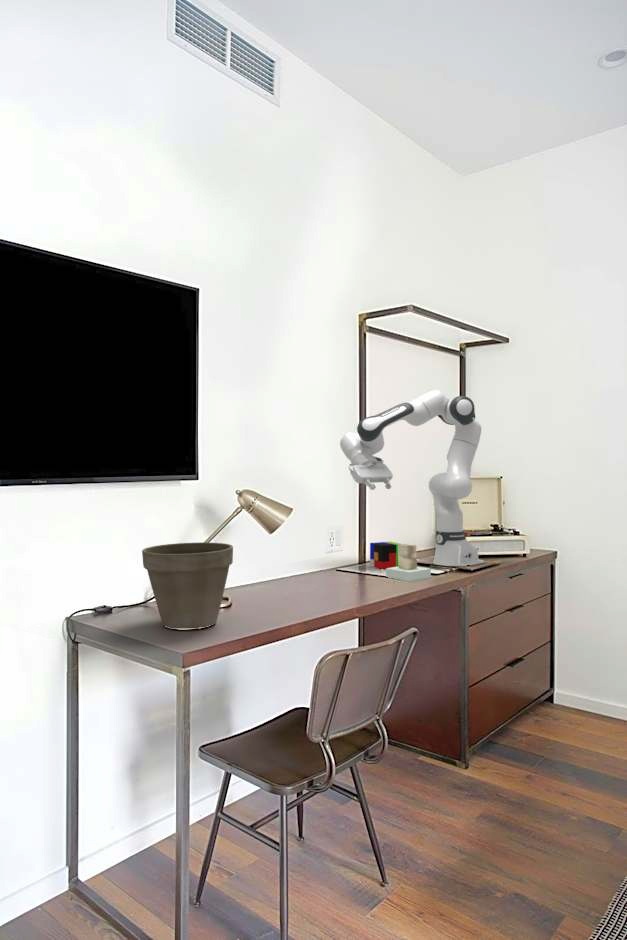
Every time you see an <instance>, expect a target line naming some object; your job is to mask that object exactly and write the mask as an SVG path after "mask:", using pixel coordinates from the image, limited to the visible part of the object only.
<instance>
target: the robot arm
mask: <svg viewBox="0 0 627 940" xmlns="http://www.w3.org/2000/svg"><path fill="white" fill-rule="evenodd" d="M435 417H438V418H440V420H441V421H442V422H443V423H444V424H447V425H450V426H455V428H454V429H455V431H454V434H453V437H452V440H451V443H450V445H449V448H448V451H447V454H446V459H447V469H446V472H440V473H437V474H435V475H433V476H432V477H431V478H430V479H429V481H428V489H429V491H430V493H431V495H432V497H433V501H434V506H435V513H436V530H435V540H436V543H435V551H434V556H433V557H434V558H433V562H432V564H434V565H438V566H443V567H444V566H445V567H468V566H467V565H470V566H475V565H479V564H484V562H485V561H484V560H483V559H480V558H479V553H478V549H477V548H476V547H475V546H474V545H473V544H472V543H471V542H469V540H467V537H470V536H471V532H470V531H464V514H463V511H462V509H461V507H460V503H459V500H462V499H465V498H467V497H469V495H471V493H472V491H473V482H472V481H471V471H472V464H473V461H474V459H475V456H476V453H477V449H478V446H479V443H480V439H481V433H482V426H481V424H480V423H479V422H478V421H477V420H476V411H475V404H474V401H473V400H472V399H471V398H470V397H468V396H466V395H459V396H455V397H453V398H451V399H450V398H447V397H446V394H444V393H443V391H441V390H438V389H433V390H431V391H428V392H426V393H424V394H422V395H420V396H418V397H415V398H414V399H413V400H411V401H408V402H402V403H399V404H397V405H395V406H393V407H391V408H388V409H387V410H384V411H382V412H380V413H378V414H376V415H371V416H366V417H365V418H363V419H361V420H360V421H359V422H358V424H357V427H356V430H357V431H356V432H352V431H348V432H347V433H345V434H344V435H343V436H341V438H340V441H339V445H340V449H341V451H342V452H343V454H344V455H345V457H346V459H347V460H349V461H350V463H349V465H348V470H349V473H350V475H351V476H352V478H353V480H354V482H355V483H357V484H364V485H365V486H367V487H369V490H371V491H373V490H374V491H375V489H376V488H377V487H376V485H375V483H383V484H384V487H385V488H386V489H387V490H390V489H391V488H392V484H391V482H390V481H391V480H392V479H393V475H394V474H393V473H392V471H391V470H390V468H389V467H388V466H387V464H385V463H384V460H383V458H381V457H378V456H374V455H375V454H378V453H379V452H381V451H383V448H384V446H385V439H384V435H383V431H384V430H385V428H387V427H389V426H391V425H393V424H396V423H397V422H399V421H405V422H406V423H407V424H409V425H411V426H414V427H419V426H422V425H424V424H426V423H427V422H429V421H430V420H432V419H435Z"/></svg>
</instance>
